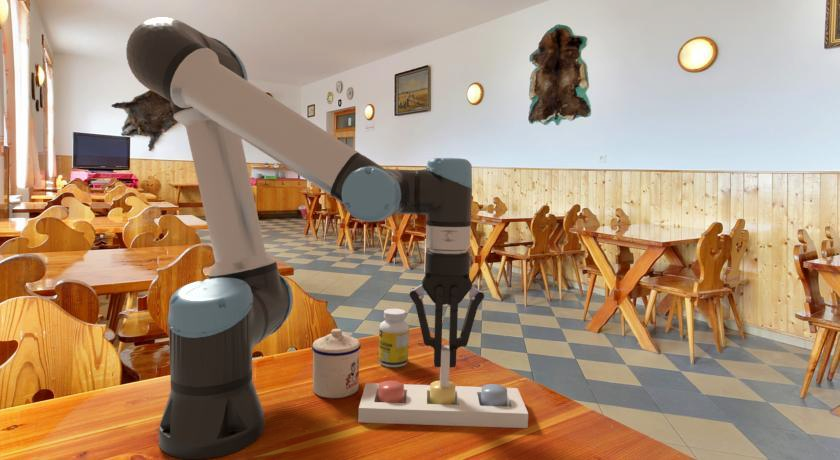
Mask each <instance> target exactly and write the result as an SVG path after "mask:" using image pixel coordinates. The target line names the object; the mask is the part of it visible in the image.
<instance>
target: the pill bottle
mask: <svg viewBox="0 0 840 460" xmlns="http://www.w3.org/2000/svg"><path fill="white" fill-rule="evenodd" d="M383 318H384V320H383V321H382V322H381V323H380V324H379V331H378V333H379V336H378V363H379V364H380V365H381V366H384V367H387V368H400V367H404V366H405V365H407V364H408V361H409V343H410V341H409V340H410V339H409V338H410V326H409V324H408V322H407V321H406V320H405V319H406V310H405V309H401V308H387V309H384V311H383Z"/></svg>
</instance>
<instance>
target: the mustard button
mask: <svg viewBox="0 0 840 460" xmlns="http://www.w3.org/2000/svg"><path fill="white" fill-rule="evenodd" d="M429 385H430V404H444V405H455V386H456V383H454V382H452V381H450V380H449V388H446V387H440V379H439V380H435V381H432V382H431V383H430V384H429Z"/></svg>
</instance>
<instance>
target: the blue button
mask: <svg viewBox="0 0 840 460" xmlns="http://www.w3.org/2000/svg"><path fill="white" fill-rule="evenodd" d="M481 387H482V393H481V405H480V406H502V407H506V405H507V389H506V388H507V387H505V386H504V385H501V384H497V383H486V384H483V385H482V386H481Z"/></svg>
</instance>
